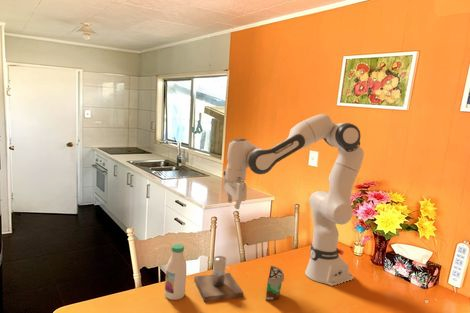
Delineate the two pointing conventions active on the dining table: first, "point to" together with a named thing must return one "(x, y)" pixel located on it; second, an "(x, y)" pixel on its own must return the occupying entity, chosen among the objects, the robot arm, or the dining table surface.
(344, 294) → the dining table surface
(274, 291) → the food container
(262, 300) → the dining table surface
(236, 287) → the walnut board
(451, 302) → the dining table surface
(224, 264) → the silver can
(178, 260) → the milk bottle
